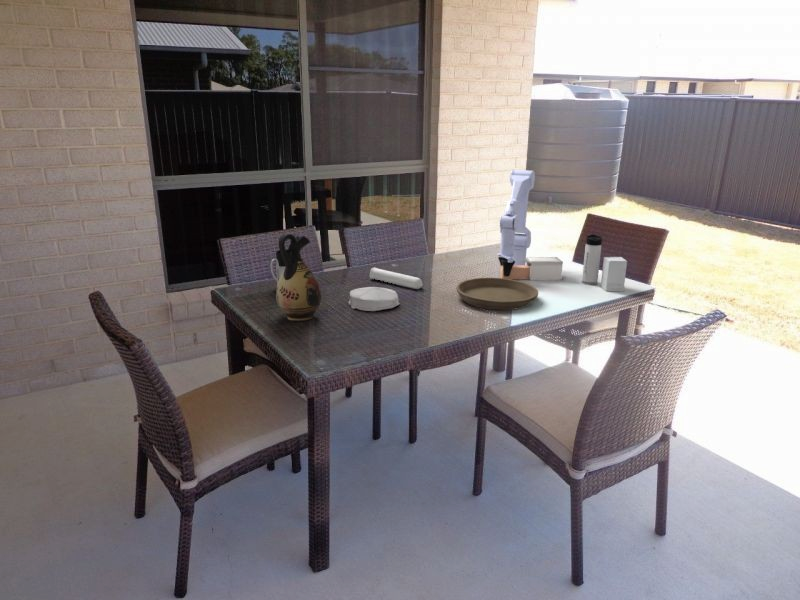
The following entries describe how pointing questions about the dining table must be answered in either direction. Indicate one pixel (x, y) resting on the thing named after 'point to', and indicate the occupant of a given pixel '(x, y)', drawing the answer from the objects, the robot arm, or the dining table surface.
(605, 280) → the supplement box
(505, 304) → the plant saucer
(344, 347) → the dining table surface
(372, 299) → the food container
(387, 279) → the tube
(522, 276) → the orange long block
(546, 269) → the dispenser
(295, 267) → the ceramic jug
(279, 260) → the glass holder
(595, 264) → the travel mug
